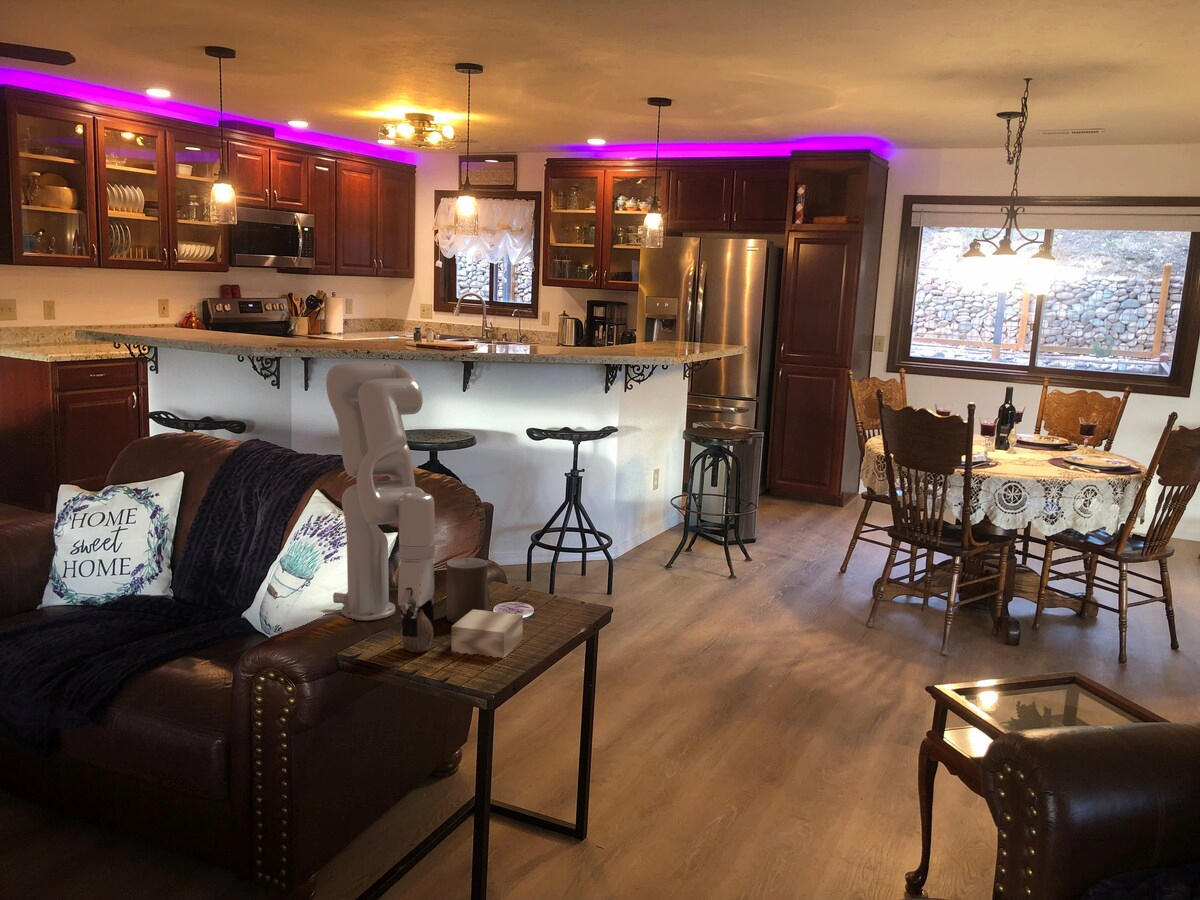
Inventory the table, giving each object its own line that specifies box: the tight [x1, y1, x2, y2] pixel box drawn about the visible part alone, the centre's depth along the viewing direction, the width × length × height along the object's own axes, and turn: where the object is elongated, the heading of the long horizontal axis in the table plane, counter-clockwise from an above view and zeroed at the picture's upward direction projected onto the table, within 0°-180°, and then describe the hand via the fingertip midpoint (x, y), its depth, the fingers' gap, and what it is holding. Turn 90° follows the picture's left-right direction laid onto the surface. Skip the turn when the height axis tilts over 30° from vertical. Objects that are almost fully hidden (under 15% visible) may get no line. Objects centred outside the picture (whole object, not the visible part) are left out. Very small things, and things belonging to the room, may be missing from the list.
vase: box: [400, 608, 434, 654], centre depth 206 cm, size 7×7×9 cm
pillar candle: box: [445, 557, 489, 624], centre depth 226 cm, size 10×10×15 cm
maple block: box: [450, 609, 524, 659], centre depth 209 cm, size 12×12×6 cm
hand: (418, 629), depth 205 cm, fingers open, 9 cm apart
